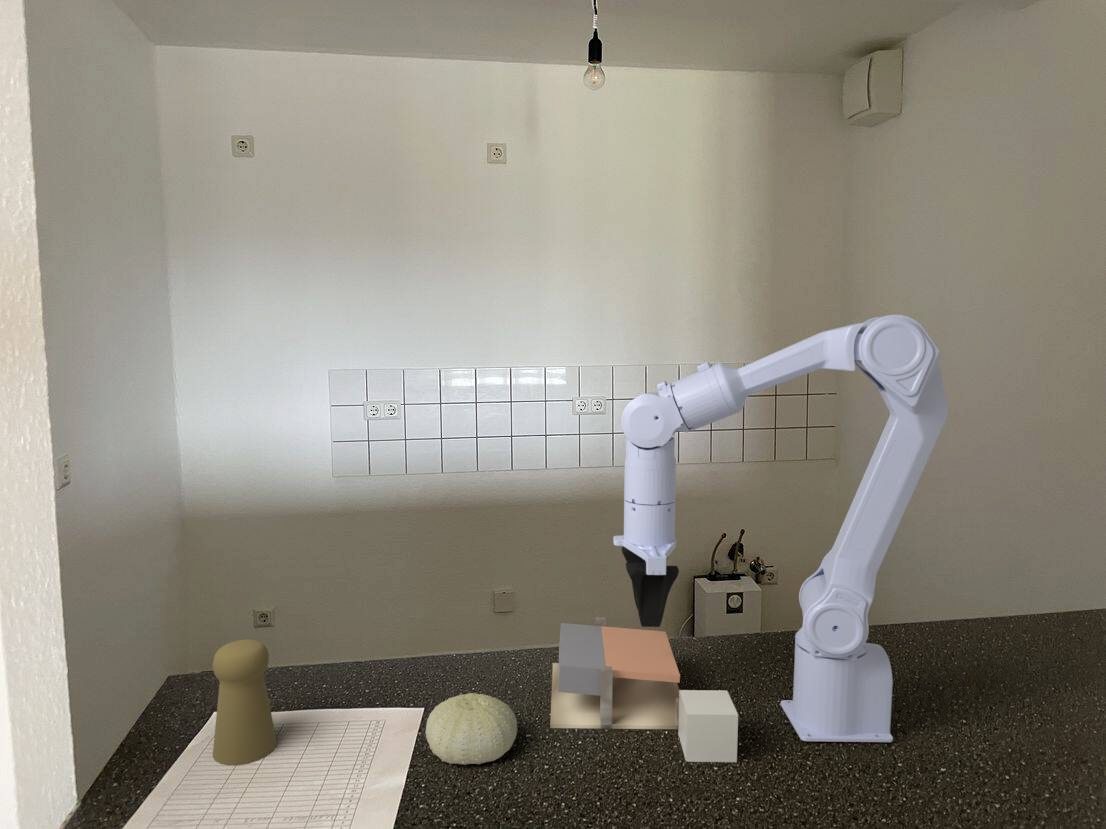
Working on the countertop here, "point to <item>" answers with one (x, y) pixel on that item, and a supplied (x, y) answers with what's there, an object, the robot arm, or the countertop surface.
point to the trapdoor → (612, 656)
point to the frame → (616, 703)
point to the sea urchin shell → (471, 729)
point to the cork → (242, 704)
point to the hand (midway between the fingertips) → (647, 616)
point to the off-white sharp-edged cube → (708, 726)
